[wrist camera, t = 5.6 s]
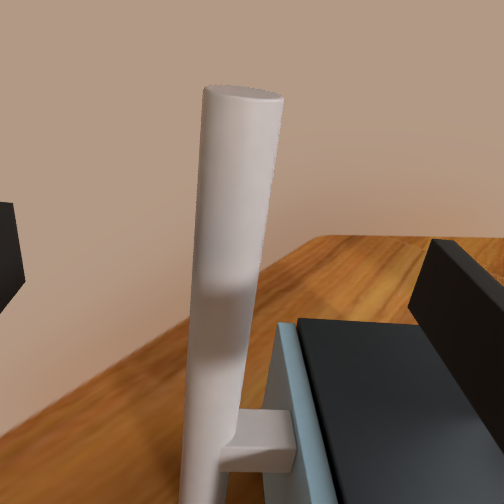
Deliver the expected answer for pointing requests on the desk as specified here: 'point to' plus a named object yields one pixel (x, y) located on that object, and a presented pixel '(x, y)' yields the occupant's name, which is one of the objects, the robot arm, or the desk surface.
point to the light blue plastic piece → (242, 321)
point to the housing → (396, 417)
